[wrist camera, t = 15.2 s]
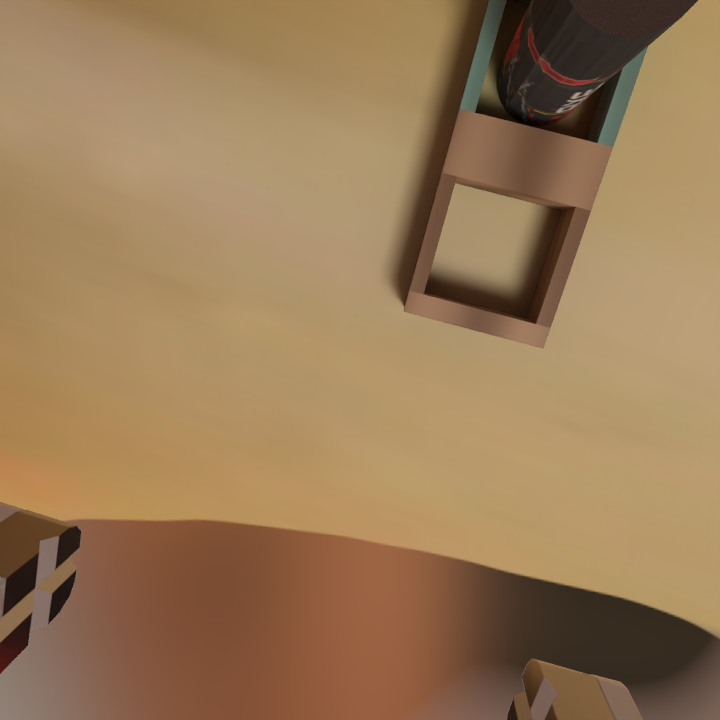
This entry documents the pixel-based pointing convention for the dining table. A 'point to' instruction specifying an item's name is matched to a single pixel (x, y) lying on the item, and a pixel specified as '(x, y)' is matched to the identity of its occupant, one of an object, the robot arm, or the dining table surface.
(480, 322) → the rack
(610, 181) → the dining table surface
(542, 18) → the deodorant
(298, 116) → the dining table surface
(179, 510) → the dining table surface
